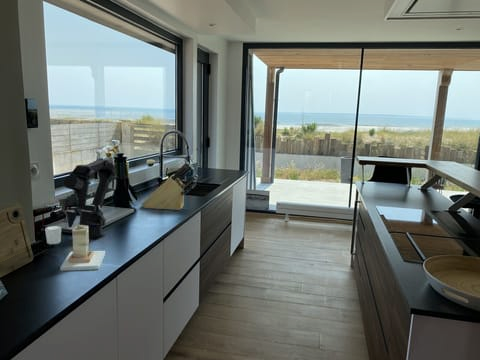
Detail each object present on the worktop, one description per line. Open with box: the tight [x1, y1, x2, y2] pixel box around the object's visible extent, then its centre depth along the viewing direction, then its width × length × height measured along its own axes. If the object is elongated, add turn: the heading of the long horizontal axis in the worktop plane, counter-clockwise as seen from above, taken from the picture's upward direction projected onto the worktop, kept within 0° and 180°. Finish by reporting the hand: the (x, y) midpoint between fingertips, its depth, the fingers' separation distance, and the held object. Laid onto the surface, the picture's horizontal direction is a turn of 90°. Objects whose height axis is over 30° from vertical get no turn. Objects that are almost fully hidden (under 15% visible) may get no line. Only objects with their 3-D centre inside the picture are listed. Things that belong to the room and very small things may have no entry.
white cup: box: [44, 225, 62, 245], centre depth 171 cm, size 7×7×7 cm
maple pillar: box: [71, 224, 90, 258], centre depth 149 cm, size 5×5×14 cm
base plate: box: [60, 250, 106, 272], centre depth 151 cm, size 16×14×3 cm
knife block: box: [140, 161, 198, 211], centre depth 238 cm, size 11×35×31 cm, turn 88°
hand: (75, 227), depth 160 cm, fingers open, 9 cm apart
